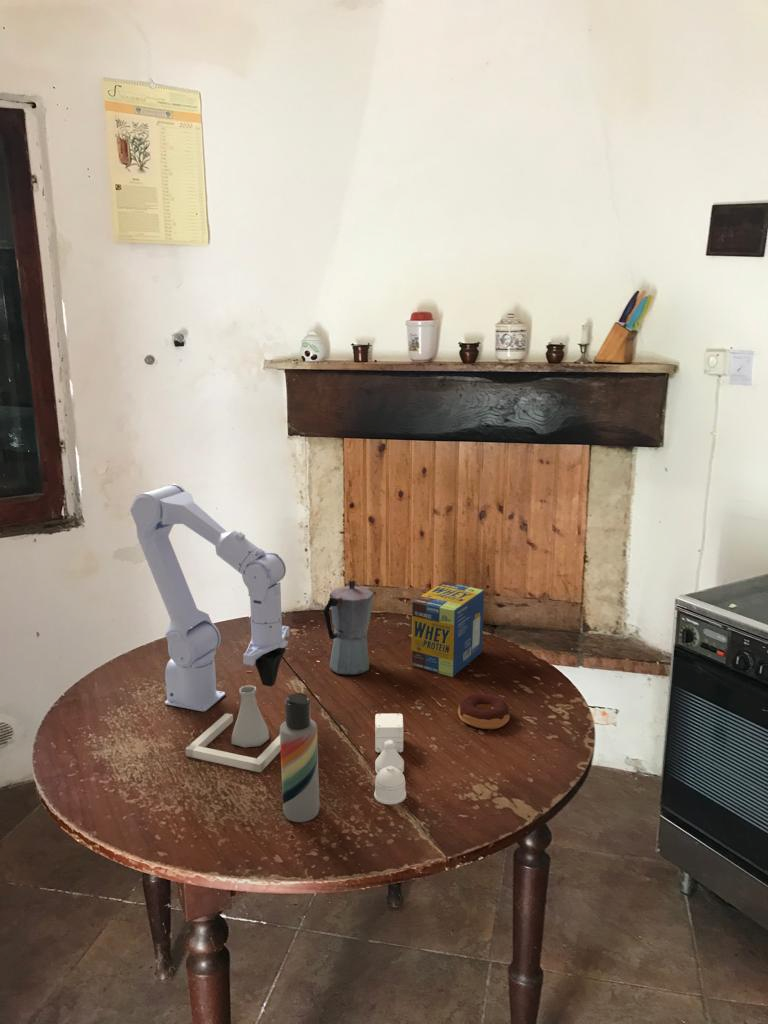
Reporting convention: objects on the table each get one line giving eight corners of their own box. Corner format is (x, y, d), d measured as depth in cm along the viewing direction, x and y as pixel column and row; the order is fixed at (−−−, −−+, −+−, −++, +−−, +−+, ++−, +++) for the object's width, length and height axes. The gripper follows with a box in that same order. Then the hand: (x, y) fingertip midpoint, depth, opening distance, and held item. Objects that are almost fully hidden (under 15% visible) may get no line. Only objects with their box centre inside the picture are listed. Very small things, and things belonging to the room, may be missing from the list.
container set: (374, 740, 148) (374, 713, 146) (403, 739, 148) (403, 713, 146) (374, 805, 128) (373, 775, 127) (406, 805, 128) (406, 775, 127)
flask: (263, 750, 144) (261, 699, 142) (225, 747, 145) (221, 697, 143) (274, 729, 151) (272, 681, 149) (237, 727, 152) (235, 679, 150)
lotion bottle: (283, 802, 129) (279, 688, 124) (319, 800, 129) (316, 687, 124) (282, 824, 123) (277, 706, 118) (319, 822, 124) (316, 705, 119)
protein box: (410, 667, 177) (410, 601, 173) (443, 642, 190) (444, 580, 186) (453, 678, 172) (454, 610, 168) (483, 652, 184) (485, 588, 180)
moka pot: (386, 660, 180) (386, 576, 175) (347, 687, 167) (345, 597, 162) (351, 651, 185) (350, 569, 180) (310, 676, 172) (308, 589, 167)
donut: (520, 718, 155) (520, 700, 154) (489, 738, 148) (490, 719, 147) (477, 701, 162) (478, 683, 161) (447, 720, 155) (447, 701, 154)
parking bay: (186, 756, 142) (185, 748, 142) (226, 720, 155) (225, 713, 154) (260, 772, 137) (260, 764, 137) (296, 734, 149) (295, 726, 149)
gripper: (266, 635, 142) (269, 705, 146) (302, 607, 156) (304, 671, 159) (231, 630, 145) (235, 698, 148) (270, 603, 158) (272, 666, 161)
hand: (268, 684), depth 154 cm, fingers closed
